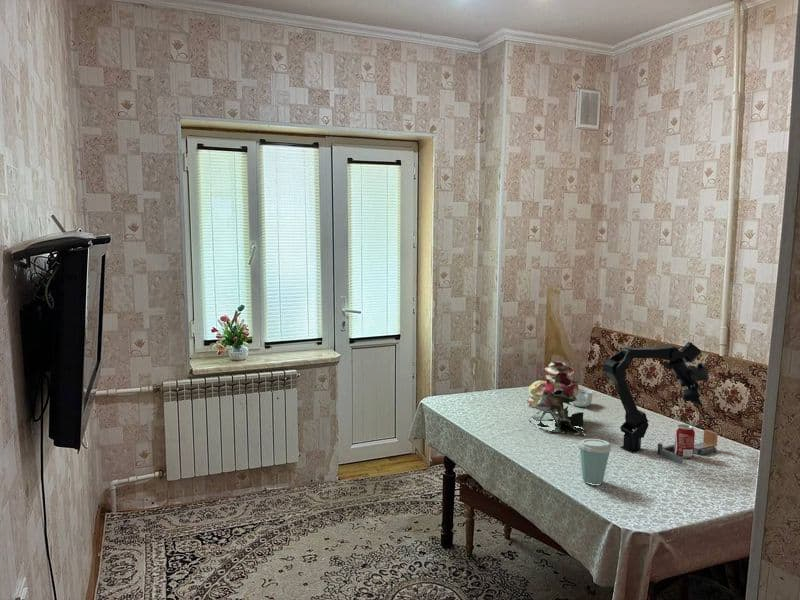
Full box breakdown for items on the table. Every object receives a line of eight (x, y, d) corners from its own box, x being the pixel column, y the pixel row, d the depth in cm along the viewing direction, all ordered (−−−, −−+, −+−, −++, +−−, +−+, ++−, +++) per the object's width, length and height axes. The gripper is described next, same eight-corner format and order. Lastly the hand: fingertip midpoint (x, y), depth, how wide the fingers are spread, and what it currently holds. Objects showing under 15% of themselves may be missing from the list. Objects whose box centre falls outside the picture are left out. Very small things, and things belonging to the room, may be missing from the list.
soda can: (695, 459, 224) (697, 429, 223) (676, 458, 226) (678, 428, 224) (690, 453, 231) (692, 424, 229) (672, 452, 232) (673, 423, 231)
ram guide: (702, 455, 229) (702, 450, 228) (689, 450, 234) (689, 445, 234) (715, 452, 232) (716, 447, 232) (702, 447, 237) (702, 442, 237)
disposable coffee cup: (571, 478, 207) (572, 438, 205) (594, 473, 211) (596, 434, 209) (592, 490, 197) (593, 448, 195) (616, 485, 201) (618, 443, 200)
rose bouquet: (577, 416, 278) (579, 355, 274) (591, 437, 249) (594, 369, 245) (523, 414, 280) (524, 353, 277) (530, 435, 251) (532, 367, 248)
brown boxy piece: (699, 454, 229) (700, 437, 228) (688, 450, 233) (689, 433, 232) (716, 450, 233) (717, 433, 232) (705, 446, 237) (706, 429, 236)
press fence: (680, 463, 220) (681, 452, 220) (657, 454, 230) (657, 443, 229) (702, 458, 226) (703, 447, 225) (679, 449, 235) (679, 438, 235)
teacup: (568, 402, 301) (569, 387, 301) (590, 402, 300) (590, 387, 299) (572, 410, 288) (573, 394, 287) (595, 411, 286) (596, 395, 285)
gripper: (702, 377, 224) (722, 406, 228) (699, 349, 239) (717, 377, 242) (674, 386, 230) (694, 414, 234) (672, 359, 245) (691, 386, 249)
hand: (700, 397), depth 239 cm, fingers open, 9 cm apart
